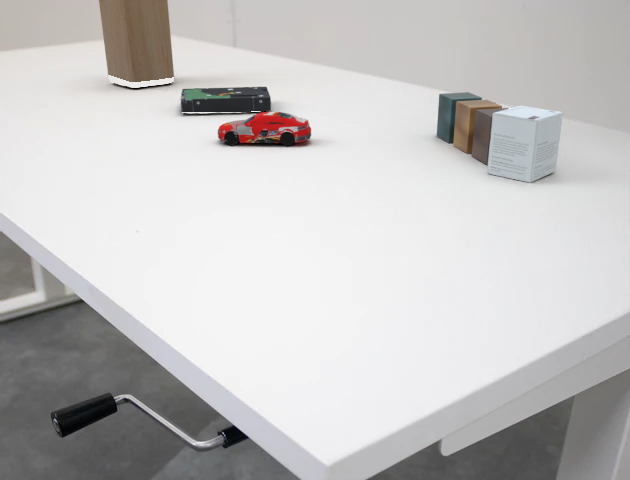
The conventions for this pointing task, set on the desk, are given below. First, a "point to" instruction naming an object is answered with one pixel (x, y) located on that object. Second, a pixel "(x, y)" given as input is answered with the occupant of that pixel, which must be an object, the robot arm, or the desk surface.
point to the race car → (266, 129)
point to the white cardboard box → (524, 143)
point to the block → (137, 39)
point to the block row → (467, 122)
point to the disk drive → (225, 99)
